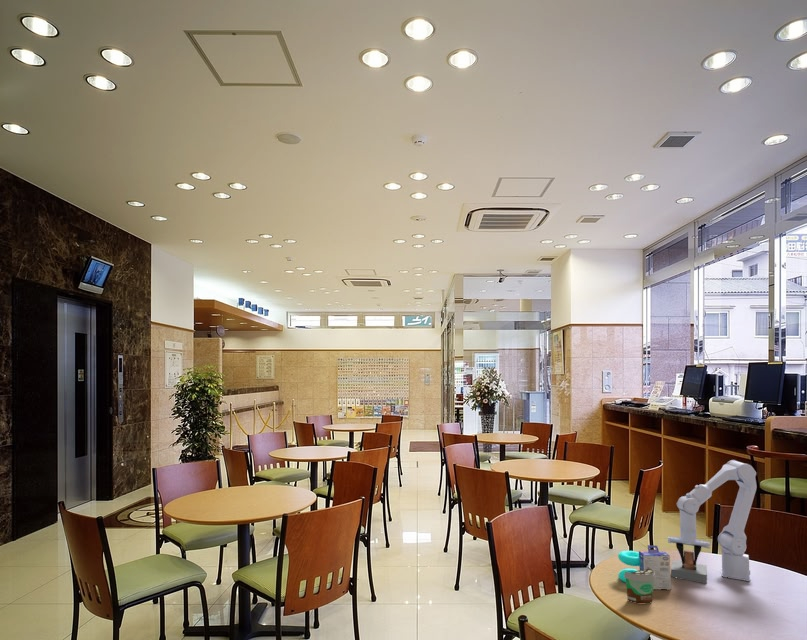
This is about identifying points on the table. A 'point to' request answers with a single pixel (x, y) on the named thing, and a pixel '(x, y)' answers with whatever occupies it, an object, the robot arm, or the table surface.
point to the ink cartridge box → (657, 566)
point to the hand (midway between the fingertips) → (689, 564)
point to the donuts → (628, 562)
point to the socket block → (689, 572)
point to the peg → (688, 559)
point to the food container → (640, 585)
